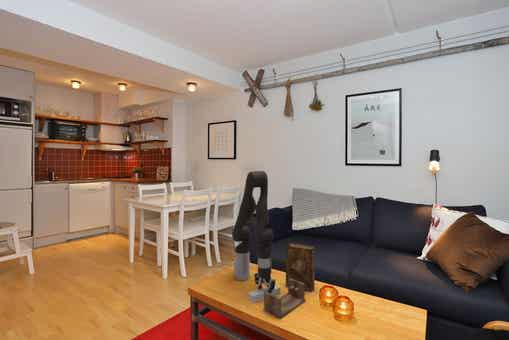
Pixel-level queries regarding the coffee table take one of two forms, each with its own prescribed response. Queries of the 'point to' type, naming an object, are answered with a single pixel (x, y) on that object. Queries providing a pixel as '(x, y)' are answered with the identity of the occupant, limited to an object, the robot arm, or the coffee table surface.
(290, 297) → the shelf frame
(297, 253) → the book
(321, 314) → the coffee table surface
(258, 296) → the grey rectangular bar
